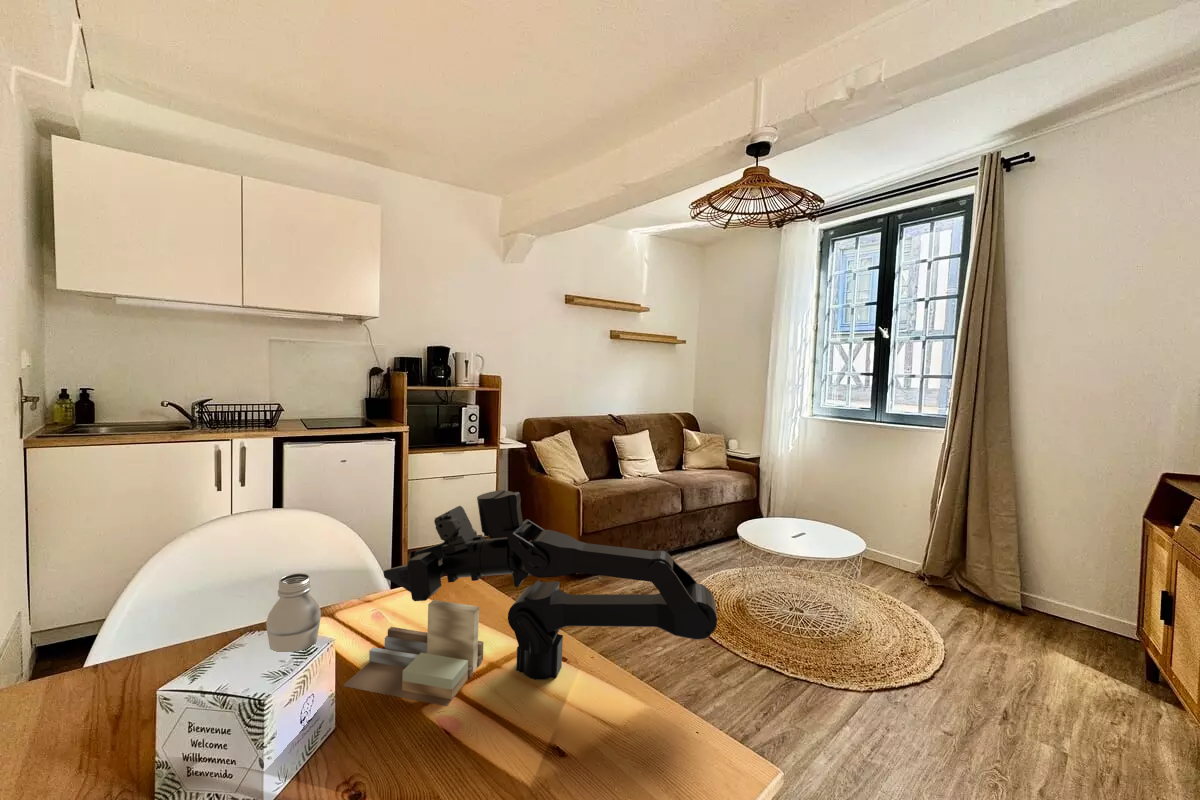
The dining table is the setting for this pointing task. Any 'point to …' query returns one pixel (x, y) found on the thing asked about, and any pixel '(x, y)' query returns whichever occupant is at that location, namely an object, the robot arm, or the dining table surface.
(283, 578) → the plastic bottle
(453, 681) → the sage offcut
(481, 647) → the walnut rack
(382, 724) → the dining table surface
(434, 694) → the oak offcut
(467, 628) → the birch sheet
